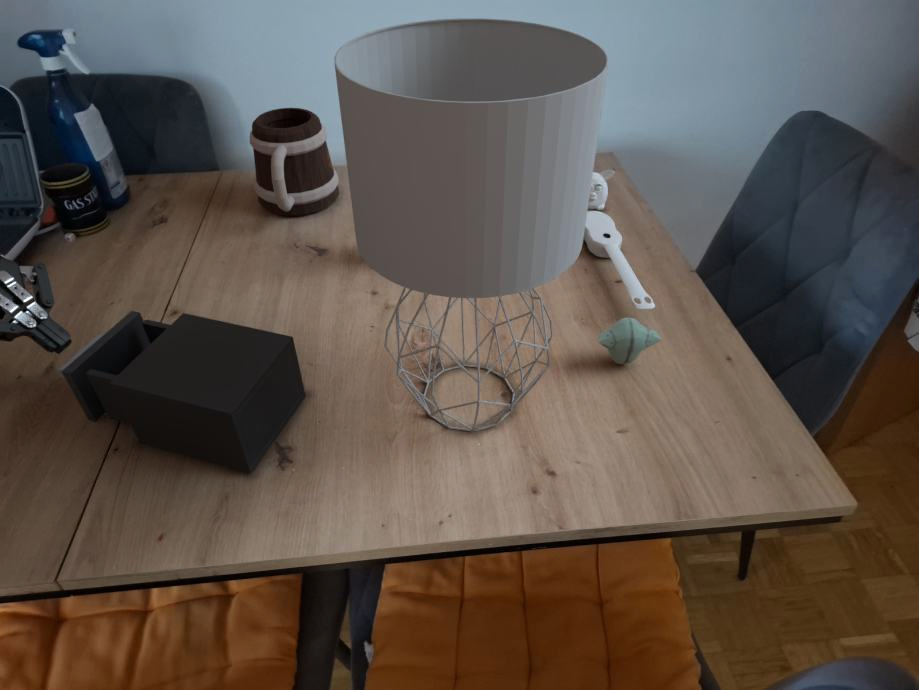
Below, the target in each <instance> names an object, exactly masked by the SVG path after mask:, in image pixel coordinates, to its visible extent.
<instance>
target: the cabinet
mask: <svg viewBox="0 0 919 690" xmlns="http://www.w3.org/2000/svg"><path fill="white" fill-rule="evenodd" d="M301 371H302V370H301V367H300V362H299V357H298V353H297V348H296V344H295V340H294V337H293V336H291V335H288V334H282V333H277V332H273V331H269V330H264V329H259V328H255V327H250V326H246V325H245V326H244V325H241V324H236V323H232V322H227V321H223V320H217V319H213V318H209V317H205V316H200V315H195V314H190V313H185V312H183V313H182V314H181V315H180V316H179V317H177V318H176V319H175V320H174V321H173V322H172V323H171V324H170V326H169V327H168V328H167V329H166V330H165V331H164V332H163V333H162V334H161V335H160V336H159V337H158V338H156V339H155V340H154V341H153V342H152V343H151V344H150V345H149V346H148V347H147V348H146V349H145V350H144V351H143V352H142V353H141V354H140V355H139V356H138V357H136V358H135V359H134V360H133V361H132V362H131V363H130V364H129V365H128V366H127V367H126V368H125V369H124V370H123V371H122V372H121V373H120V374H119V375H117V376H116V377H115V378H114V379H113V380H112V381H111V382H110V385H111V387H112V389H113V392H114V394H115V396H116V398H117V400H118V402H119V404H120V406H121V408H122V410H123V412H124V414H125V416H126V418H127V420H128V422H129V424H128V425H129V427H130V428H131V430H132V432H133V434H134V435H135V438H136V439H137V441H138V443H139V444H141V445H143V446H144V445H145V446H148V447H151V448H154V449H155V448H156V449H159V450H162V451H166V452H170V453H173V454H177V455H179V456H184V457H187V458H191V459H195V460H198V461H202V462H206V463H209V464H213V465H216V466H220V467H224V468H227V469H231V470H235V471H239V472H242V473H245V474H248V475H252V474H253V473H254V471H255V469H256V468H257V467H258V465H259V464H260V462H261V461H262V460H263V458H264V457H265V456H266V454H267V453H268V451H269V449H270V448H271V447H272V446H273V444H274V442H276V440H277V438H278V437H279V435H280V434H281V433H282V431H283V430H284V428H285V427H286V425H288V423H289V421H290V419H291V418H292V417H293V415H294V414H295V413H296V412H297V410H298V408H299V407H300V405H301V404H302V403H303V401H304V400H305V398H306V397H307V394H306V389H305V385H304V381H303V377H302V372H301Z"/></svg>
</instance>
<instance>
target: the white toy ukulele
mask: <svg viewBox="0 0 919 690" xmlns="http://www.w3.org/2000/svg"><path fill="white" fill-rule="evenodd" d="M583 241H584V242H585V243H586V246H587V249H588V251H589V252H590V253H591V254H593V255H594V256H595V257H598V258H606V259H607V258H609V259H610V260H611V262H612V264H613V266H614V267H615V269H616V271H617V273H618V275H619V276H620V278H621V281H622V282H623V284H624V286H625V288H626V290H627V293H628V295H629V299H630V302H631V304H632V305H633V306H634V308H635V309H638V310H641V311H642V310H645V311H647V310H653V309H655V308H656V304H655V303H654V300H653V298H652V297H651V296H650V294H648V293H647V292H646V290H645V289H644V288H643V286H642V284H641V283H640V281H639V279H638V277H637V275H636V274H635V272H634V271H633V269H632V267H631V265H630V263H629V262H628V260H627V259H626V256H625V255H624V253H623V252H622V249H621V248H622V244H623V243H622V242H623V236H622V234H621V232H620V231H618V229H617V228H616V224H615V220H613V218H611V216H609V215H608V214H607V213H605V212H602V211H600V210H599V211H598V210H587V217H586V224H585V231H584V237H583ZM645 299H646V300H648V301H649V302H650V303H649V302H647V301H646V300H645ZM635 300H636V301H638V302H639V303H636V301H635Z"/></svg>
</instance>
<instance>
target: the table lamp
mask: <svg viewBox="0 0 919 690" xmlns="http://www.w3.org/2000/svg"><path fill="white" fill-rule="evenodd" d="M333 60H334V62H333V63H334V70H335V71H334V72H335V79H336V86H337V87H336V88H337V95H338V96H337V97H338V104H339V113H340V119H341V128H342V136H343V144H344V152H345V153H344V154H345V161H346V168H347V177H348V184H349V185H348V186H349V192H350V200H351V209H352V216H353V224H354V233H355V241H356V247H357V250H358V253H359V254H360V256H361V258H362V259H363V261H364V263H366V264H367V265H368V266H369V267H370V268H371V269H372V270H373V271H374V272H375V273H376V274H378V275H379V276H381V277H382V278H384V279H386V280H387V281H390V282H391V283H394V284H395V285H398V286H401V287H402V288H403V289H402V292H401V294H400V296H399V299H398V300H397V303H396V307H395V309H394V311H393V313H392V316H391V318H390V320H389V322H388V325H387V327H386V329H385V337H384V348H385V349H386V351H387V352H388V355H390V357H391V359H392V360H393V361H394V363H395V364H396V376H397V378H398V379H399V380H400V382H401V383H402V385H404V387H405V388H406V389H407V391H408V392H409V393H410V394H411V396H412V397H413V398H414V399H415V400H416V401H417V403H418V404H419V405H420V406H421V408H422V409H423V410H424V411H425V412H426V414H428V416H429V417H430V418H432V419H433V420H435V421H437V422H438V423H439V424H441V425H443V426H444V427H446V428H448V429H450V430H451V429H452V430H457V431H458V430H459V431H466V432H477V431H478V432H479V431H481V430H484V429H488V428H491V427H496V426H498V425H499V424H500V423H501V422H502V421H503V420H504V419H505V418H506V417H507V416H508V415H509V414H510V413H512V412H513V411H514V409H515V408H516V407H517V406H518V405H519V403H520V402H522V400H523V399H524V398H525V397H526V396H527V395H528V393H529V392H530V391H531V390H532V389H533V387H534V386H536V384H537V383H538V381H539V380H540V379H541V378H542V376H543V375H544V373H546V371H548V369H549V368H550V366H551V358H550V348H549V347H550V346H549V344H550V342H551V341H552V339H553V337H554V331H553V320H552V318H551V315H550V314H549V311H548V309H547V306H546V304H545V302H544V299H543V298H542V296H541V295H540V294H539V292H538V291H537V290H536V289H535V288H539V287H541V286H543V285H546V284H548V283H550V282H551V281H553V280H555V279H557V278H558V277H560V276H561V275H563V274H564V273H565V272H566V271H568V270H569V269H570V268H571V267H572V266H573V265H574V264H575V262H576V260H577V259H578V258H579V256H580V254H581V251H582V249H583V244H584V239H583V237H584V231H585V224H586V217H587V211H589V210H588V203H589V196H590V189H591V182H592V175H593V172H594V168H595V161H596V155H597V146H598V141H599V140H598V139H599V133H600V128H601V127H600V126H601V120H602V113H603V105H604V99H605V92H606V85H607V84H606V83H607V78H608V70H609V64H610V59H609V55H608V53H607V52H606V50H605V49H604V48H603V47H602V46H601V45H600V44H598V43H596V42H595V41H593V40H592V39H589V38H588V37H585V36H583V35H581V34H578V33H577V32H576V33H575V32H573V31H569V30H567V29H562V28H559V27H554V26H551V25H545V24H541V23H535V22H528V21H522V20H512V19H511V20H510V19H499V18H498V19H497V18H479V17H477V18H475V17H473V18H468V17H466V18H461V17H460V18H459V17H458V18H441V19H440V18H439V19H427V20H421V21H419V20H418V21H413V22H411V21H410V22H405V23H400V24H394V25H389V26H386V27H383V28H377V29H375V30H371V31H369V32H365V33H363V34H361V35H359V36H355V37H354V38H352V39H350V40H348V41H347V42H346V43H344V44H343V45H341V47H339V48H338V50H337V51H336V53H335V55H334V58H333ZM406 289H408V290H407V292H406ZM412 291H415V292H417V293H418V292H419V293H422V294H423V299H422V301H421V303H420V304H419V307H418V308H417V310H416V312H415V314H414V316H413V317H412V319H411V320H410V321H407V320H404V319H400V306H401V305H402V303H403V302H404V301H405V300H406V299H407V297H408V296H409V295H410V294H411V293H412ZM532 291H533V292H532ZM405 292H406V294H405ZM522 292H524V293H525V294H526V295H528V296H529V297H530V298H531V305H530V304H529V302H528V301H527V300H526V297H525V296H524V295H523V293H522ZM533 293H534V294H535V295H536V296H534V295H533ZM515 294H519V295H520V297H521V299H522V301H523V302H524V304H525V305H526V307H527V309H528V311H529V312H526V313H524V314H521V315H518V316H515V317H513V318H510V319H509V316H508V314H507V311H506V307H505V305H504V302H503V299H502V297H504V296H509V295H515ZM429 295H431V296H438V297H444V298H448V301H447V305H446V309H445V312H444V313H443V314H442V315H441V316H440V318H439V319H438V320H437V322H436V323H435V325H433V324H432V320H431V317H430V313H429V310H428V309H429V307H428V306H427V301H426V300H427V298H428V297H429ZM496 297H497V298H498V302H497V308H496V313H495V319H494V321H492V320H491V319H490V318H489V317H488V316H487V315H486V314H485V313H484V312H483V311H482V310H481V309H480V308H479V307H478V303H477V301H478V300H477V299H485V298H486V299H487V298H496ZM452 298H453V299H454V298H455V299H454V300H453V301H452ZM458 299H460V301H461V302H460V306H461V307H460V308H461V335H462V359H463V360H462V359H461V358H460V356H458V354H456V352H454V350H453V349H452V348H451V347H450V346H449V345H448V344H447V343H446V341H444V340H443V338H442V337H443V334H444V329H445V325H446V322H447V318H448V314H449V311H450V309H451V308H452V307H453V306H454V304H456V302H457V301H458ZM464 299H466V300H467V301H469V303H470V304H471V305H472V306H473V307H474V321H475V323H474V324H475V342H476V343H475V345H476V348H475V349H474V350H473V352H472V353H471V354H470V356H469V357H468V358H467V360H466V350H465V346H466V345H465V323H464V320H465V319H464ZM471 299H473V300H471ZM535 300H539V303H540V309H541V317H542V325H543V328H542V326H541V323H540V322H541V321H539V319H538V317H537V315H536V314H535V313H536V311H535ZM451 301H452V303H451ZM473 301H474V302H473ZM423 306H424V307H425V311H426V315H427V320H428V322H429V326H430V327H427V326H424V325H421V324H417V323H415V321H416V319H417V317H418V315H419V313H420V311H421V309H422V308H423ZM500 306H501V308H502V309H501V310H502V311H503V316H504V318H505V321H502V322H500V323H497V322H498V317H499V313H500ZM478 312H479V313H480V314H481V315H482V316H483V318H485V319H486V320H487V321H488V322H489V323H490V324H491V326H493V327H492V328H491V329H490V330H489V332H488V333H487V334H486V335H485V336H484V338H483V339H482V340H481V342H480V341H479V339H480V338H479V321H478V320H479V319H478ZM545 313H546V314H545ZM528 315H530V316H529V319H528V321H527V323H526V326H525V327H524V330H523V333H522V335H521V337H520V340H518V339H516V336H515V334H514V331H513V328H512V325H511V322H513V321H515V320H518V319H520V318H523V317H526V316H528ZM545 315H546V316H547V319H548V321H549V329H550V337H549V338H548V332H547V326H546V319H545V317H546V316H545ZM394 320H395V329H396V340H397V359H396V358H395V356H394V354H393V353H392V352H391V350H390V349H389V347H388V346H387V344H388V335H389V331H390V328H391V326H392V323H393V321H394ZM441 321H442V325H441V329H440V331H439V332H440V333H439V334H438V333H437V332H436V331H435V330H434V329H436V327H437V326H438V325H439V324H440V322H441ZM531 321H532V326H533V327H532V329H533V343H531V342H526V341H523V340H524V337H525V335H526V332H527V330H528V329H529V325H530V323H531ZM400 322H401V323H404V324H408V327H407V328H406V331H405V332H404V329H403V328H402V326H401V324H400ZM536 323H537V326H538V329H539V331H540V334H541V337H542V340H543V343H544V346H543V345H539V344H537V335H536V333H537V332H536ZM504 324H507V326H508V329H509V332H510V335H511V337H512V340H513V341H512V342H511V343H510V344H509V345H508V347H507V348H506V349H505V350H504V351H503V352H502V351H501V345H500V340H499V335H498V331H497V327H499V326H501V325H504ZM412 326H415V327H418V328H422V329H425V330H428V331H430V340H429V341H430V342H429V343H430V344H429V346H428V347H425V348H422V349H419V350H416V351H414V350H413V348H412V346H411V345H410V342H409V340H408V336H409V333H410V330H411V328H412ZM400 332H401V335H402V336H403V341H402V344H401V342H400V341H401V340H400V339H401V338H400V337H401V335H400ZM491 333H492V334H491ZM490 334H491V338H490V343H489V349H488V354H487V358H486V363H485V366H482V365H481V364H480V347H481V346H482V345H483V343H484V342H485V341H486V339H487V338H488V337H489V336H490ZM494 336H495V340H496V345H497V349H498V355H499V357H498V358H497V359H496V360H495V361H494V363H493V364H491V366H490V367H488V366H489V362H490V357H491V351H492V348H493V342H494ZM436 337H437V338H438V341H437V338H436ZM433 341H434V345H433ZM441 342H442V344H444V346H445V347H446V348H447V349H448V350H449V351H450V352H451V353H452V354H453V355H454V356H455V357H453V356H452V355H451V354H450V353H449V352H448V351H446V349H445V348H443V347H442V346H441ZM406 344H407V346H408V349H409V350H410V352H409V353H406V354H403V350H404V348H405V345H406ZM521 345H525V346H530V347H534V360H532V361H531V362H529V363H527V364H525V365H523V366H522V363H521V358H520V354H519V353H520V352H519V348H520V346H521ZM513 346H514V348H515V349H514V350H515V351H514V353H513V356H512V358H511V360H510V362H509V364H508V367H507V369H506V371H505V367H504V363H503V357H504V356H505V355H506V354H507V352H508V351H509V350H510V349H511V348H512V347H513ZM537 348H538V349H541V351H540V352H539V354H537V351H538V350H537ZM432 349H436V350H435V356H434V357H435V358H434V363H433V368H432V375H431V363H432ZM440 350H441V351H442V352H443V353H444V354H445V355H446V356H447V357H448V358H450V360H452V361H453V362H454V363H455V364H456V366H452V367H448V368H444V364H443V361H442V356H441V353H440ZM426 351H429V354H428V367H427V375H426V374H425V372H424V370H423V368H422V366H421V363H420V362H419V360H418V358H417V356H416V355H417V354H419V353H423V352H426ZM544 351H546V356H547V358H546V359H547V362H546V361H545V362H544V361H541V360H539V359H540V357H541V356H542V354H543V353H544ZM475 354H476V362H477V363H476V365H472V364H468V363H469V361H470V360H471V358H472V357H473V356H474V355H475ZM409 356H413V358H414V361H415V363H416V364H417V366H418V368H419V370H420V372H421V374H422V375H423V377H420V376H418V375H416V374H414V373H413V372H410V371H408V370H406V369H404V368H403V362H402V359H403V358H405V357H409ZM455 358H456V359H457V360H456V359H455ZM515 358H517V363H518V367H519V368H518V369H516V370H514V371H512V372H511V373H509V371H510V369H511V366H512V365H513V362H514V360H515ZM438 360H439V363H440V366H441V367H440V368H441V370H440V371H439V372H438V373H437V374H436V369H437V363H438ZM499 362H500V365H501V371H502V374H500V373H498V371H495V370H493V368H494V367H495V366H496V365H498V363H499ZM537 363H538V364H541V365H543V366H544V365H545V367H544V368H543V369H542V370H541V371H540V373H538V374H537V376H536V377H535V378H534V379H533V380H532V381H531V382H530V383H529V384H528V385H527V386H526V384H527V382H528V380H529V379H530V376H531V374H532V372H533V370H534V368H535V366H536V364H537ZM529 366H530V367H529ZM465 367H467V368H476V369H477V370H476V371H477V372H476V373H477V378H476V377H475V376H474V375H473V374H472V373H471V372H470V371H468V369H466V368H465ZM527 367H529V369H528V370H527V372H526V373H525V375H524V372H523V370H524V369H526V368H527ZM459 368H461V369H462V370H463V371H464V372H465V373H466V374H467V375H468V376H469V377H470V378H472V379H473V381H475V382H476V383H477V400H474V401H470V402H466V403H461V404H457V405H452V406H447V407H444V408H440V406H439V404H438V402H437V400H436V398H435V396H434V388H435V387H434V386H435V379H436V378H437V377H440V375H441V374H443V373H444V372H446V371H447V372H448V371H450V370H454V369H459ZM480 369H485V370H487V371H486V372H485V373H484V374H483V375H482V376H481V370H480ZM490 372H491V373H493V374H494V375H497V376H498V377H500V378H502V379H503V380H504V381H505V383H506V385H507V387H508V388H509V390H510V391H511V393H512V396H511V403H503V402H495V401H487V400H481V382H482V381H483V380H484V379H485V378H486V377H487V376H488V374H489V373H490ZM518 372H519V373H520V382H519V383H518V384H517V387H516V388H514V389H513V388H512V386H511V384H510V383H509V381H508V380H507V378H509V377H511V376H513V375H514V374H515V375H516V373H518ZM400 373H402V375H403V376H401V375H400ZM408 375H409V376H412V377H414V378H415V379H418V380H420V381H422V382H424V383H426V386H425V389H424V392H423V393H422V392H420V391H419V389H418V388H417V387H416V386H415V384H414V383H413V381H412V379H410V377H409V376H408ZM430 376H431V377H430ZM430 383H431V385H430ZM429 385H430V386H431V387H430V397H431V399H432V400H433V402H432V401H431V400H430V399H429V398H428V397H426V394H427V391H428V388H429ZM525 386H526V387H525ZM519 388H520V389H519ZM411 389H412V390H413V391H412V390H411ZM518 389H519V392H518V393H517V391H518ZM516 393H517V395H515V394H516ZM426 401H427V402H426ZM427 403H429V404H430V405H431V406H432V407H433V408H435V411H434V412H432V413H431V411H430V409H429V406H428V404H427ZM474 404H476V409H475V414H474V415H475V416H474V422H473V426H472V427H471V426H469V425H468V424H466V423H464V422H463V421H460V420H459V419H457V418H455V417H454V416H453V415H451V414H449V413H447V412H445V411H447V410H452V409H456V408H460V407H465V406H469V405H474ZM480 404H485V405H486V404H487V405H495V406H502V407H503V406H504V407H505V408H503V409H502V410H500V411H498V412H497V413H495V414H494V415H493V416H491V417H490V418H488V419H486V420H485V421H483V422H482V423H481V424H479V425H477V421H478V416H479V410H480ZM437 413H439V414H440V416H441V417H442V419H443V421H444V422H443V421H442V420H441V419H439V418H437V417H435V416H434V415H436V414H437ZM501 414H502V415H501ZM499 415H501V416H500V417H499V419H498V420H497V421H496V423H493V424H488V425H486V424H487V423H488V422H490V421H493V419H495V418H497V417H498V416H499ZM446 416H447V417H448V418H450V419H451V420H452V421H453V420H454V421H455V422H456V423H458V424H460V425H462V426H464V427H465V428H464V427H457V426H450V424H449V422H448V420H447V418H446ZM476 425H477V426H476ZM484 425H486V426H484Z"/></svg>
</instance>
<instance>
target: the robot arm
mask: <svg viewBox="0 0 919 690" xmlns="http://www.w3.org/2000/svg"><path fill="white" fill-rule="evenodd" d="M50 281H51V280H50V278H49V273H48V269H47V266H46V264H45V263H44V262H40V261H39V262H35V264H34V265H19V264H18V263H17V262H16V261H13V260H11V259H8V258H6V257H4V256H2V255H1V254H0V342H7V343H10V342H13V341H14V340H15V339H18V338H20V337H27V338H29V339H30V340H32V341H33V342H34V343H35V344H37V345H38V346H39V347H41V348H42V349H44V350H45V351H46V352H48V353H51V354H53V353H55V354H56V355H60V354H61V353H62V352H64V351H65V350H66V349H67V348H68V347H70V345H71V344H72V342H73V340H72V339H71V334H70V332H69V331H68V330H66V329H65V328H64V327H63V326H62V325H60V324H59V323H57V321H55V320H54V319H53V318H51V316H50V312H51V310H52V308H53V307H54V305H55V298H54V294H53V290H52V285H51V282H50ZM25 282H26V284H27V285H30V286H31V289H32V292H33V295H32V294H30V292H28V291H27V288H26V285H25Z"/></svg>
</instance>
